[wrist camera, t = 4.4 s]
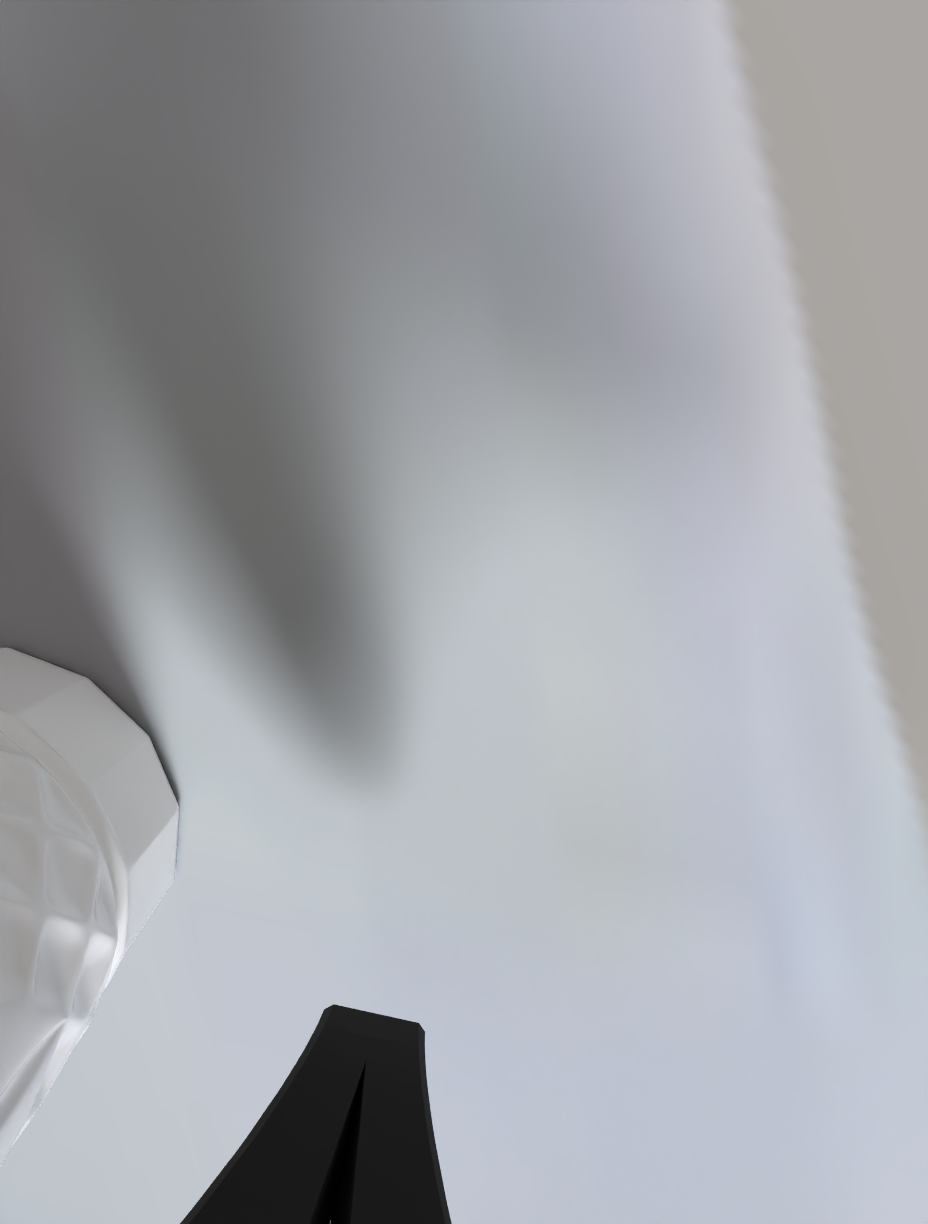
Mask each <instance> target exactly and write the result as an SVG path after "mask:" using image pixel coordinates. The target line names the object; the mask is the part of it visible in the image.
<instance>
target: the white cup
mask: <svg viewBox="0 0 928 1224" xmlns="http://www.w3.org/2000/svg"><path fill="white" fill-rule="evenodd" d="M178 820H179V806H178V803H177V801H176V798H175V796H174V794H173V791H172V789H171V787H170V784H169V782H168V779H167V777H166V775H165V772H164V770H163V768H162V765H161V763H160V761H159V758H158V756H157V754H156V751H155V749H154V746H153V744H152V742H151V739H150V737H149V736H148V735H147V733H146V732H145V731H144V730H142V729H141V728H140V727H139V726H138V725H137V724H136V723H135V722H134V721H133V720H132V719H131V718H130V717H129V716H128V715H127V714H126V713H125V712H123V711H122V710H121V709H120V708H119V707H118V706H117V705H116V704H115V703H114V702H113V701H112V700H111V699H110V698H109V697H108V696H107V695H106V694H104V693H103V692H102V691H101V690H100V689H99V688H98V687H97V686H96V685H95V684H94V683H93V682H92V681H91V680H89V679H88V678H86V677H84V676H82V675H79V674H76V673H74V672H71V671H69V670H66V669H63V668H61V667H58V666H56V665H53V664H50V663H48V662H45V661H43V660H40V659H37V658H35V657H32V656H30V655H27V654H24V653H22V652H19V651H17V650H14V649H11V648H0V1168H1V1166H2V1164H3V1162H4V1160H5V1158H6V1156H7V1154H8V1153H9V1151H10V1149H11V1147H12V1146H13V1144H14V1143H15V1142H16V1140H17V1139H18V1138H19V1136H20V1135H21V1133H22V1132H23V1130H24V1129H25V1128H26V1126H27V1125H28V1123H29V1122H30V1121H31V1119H32V1118H33V1116H34V1115H35V1113H36V1112H37V1111H38V1109H39V1108H40V1106H41V1104H42V1103H43V1101H44V1099H45V1097H46V1096H47V1094H48V1092H49V1091H50V1089H51V1087H52V1086H53V1084H54V1082H55V1080H56V1079H57V1077H58V1075H59V1073H60V1072H61V1070H62V1068H63V1066H64V1065H65V1063H66V1061H67V1059H68V1057H69V1055H70V1054H71V1052H72V1050H73V1048H74V1047H75V1046H76V1044H77V1043H78V1041H79V1040H80V1038H81V1037H82V1036H83V1034H84V1033H85V1031H86V1030H87V1028H88V1027H89V1025H90V1024H91V1022H92V1020H93V1017H94V1014H95V1011H96V1008H97V1005H98V1002H99V1000H100V997H101V994H102V992H103V991H104V989H105V988H106V986H107V985H108V983H109V981H110V980H111V978H112V976H113V974H114V973H115V971H116V969H117V967H118V965H119V963H120V961H121V959H122V958H123V956H124V955H125V953H126V952H127V950H128V949H129V947H130V946H131V944H132V943H133V941H134V940H135V938H136V937H137V935H138V934H139V932H140V931H141V929H142V928H143V926H144V925H145V923H146V922H147V920H148V919H149V917H150V916H151V914H152V913H153V911H154V910H155V908H156V907H157V905H158V904H159V902H160V901H161V899H162V898H163V896H164V895H165V893H166V892H167V890H168V889H169V887H170V886H171V884H172V882H173V880H174V878H175V866H176V851H177V835H178Z"/></svg>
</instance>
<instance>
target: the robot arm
mask: <svg viewBox="0 0 928 1224" xmlns="http://www.w3.org/2000/svg"><path fill="white" fill-rule="evenodd" d="M331 1216H332V1217H331ZM330 1220H331V1222H330ZM180 1224H451V1219H450V1215H449V1210H448V1206H447V1201H446V1196H445V1191H444V1186H443V1181H442V1176H441V1170H440V1165H439V1160H438V1155H437V1149H436V1144H435V1138H434V1132H433V1125H432V1118H431V1111H430V1103H429V1096H428V1087H427V1077H426V1065H425V1031H424V1030H423V1028H422V1027H421V1025H420V1024H419V1023H416V1022H411V1021H407V1020H402V1019H398V1018H393V1017H389V1016H384V1015H380V1014H375V1013H370V1012H366V1011H361V1010H357V1009H352V1008H348V1007H343V1006H339V1005H332V1006H330V1007H328V1008H326V1009H324V1011H323V1014H322V1016H321V1018H320V1020H319V1023H318V1025H317V1027H316V1029H315V1031H314V1033H313V1035H312V1036H311V1038H310V1040H309V1042H308V1044H307V1046H306V1048H305V1049H304V1051H303V1053H302V1054H301V1056H300V1058H299V1060H298V1061H297V1063H296V1065H295V1066H294V1068H293V1069H292V1071H291V1072H290V1074H289V1076H288V1077H287V1079H286V1080H285V1082H284V1084H283V1085H282V1087H281V1088H280V1090H279V1091H278V1093H277V1094H276V1096H275V1097H274V1099H273V1100H272V1102H271V1103H270V1104H269V1106H268V1107H267V1109H266V1110H265V1112H264V1113H263V1115H262V1116H261V1118H260V1119H259V1120H258V1122H257V1123H256V1125H255V1126H254V1128H253V1129H252V1131H251V1132H250V1134H249V1135H248V1136H247V1138H246V1139H245V1141H244V1142H243V1143H242V1145H241V1146H240V1147H239V1149H238V1150H237V1152H236V1153H235V1154H234V1155H233V1157H232V1158H231V1159H230V1161H229V1162H228V1163H227V1165H226V1166H225V1167H224V1168H223V1170H222V1171H221V1172H220V1174H219V1175H218V1176H217V1177H216V1179H215V1180H214V1181H213V1183H212V1184H211V1185H210V1187H209V1188H208V1189H207V1190H206V1192H205V1193H204V1194H203V1196H202V1197H201V1198H200V1200H199V1201H198V1202H197V1203H196V1205H195V1206H194V1207H193V1209H192V1210H191V1211H190V1212H189V1213H188V1215H187V1216H186V1217H185V1218H184V1220H183V1221H182V1222H181V1223H180Z"/></svg>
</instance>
